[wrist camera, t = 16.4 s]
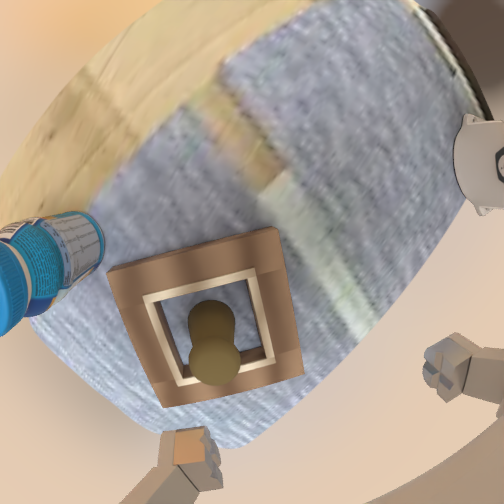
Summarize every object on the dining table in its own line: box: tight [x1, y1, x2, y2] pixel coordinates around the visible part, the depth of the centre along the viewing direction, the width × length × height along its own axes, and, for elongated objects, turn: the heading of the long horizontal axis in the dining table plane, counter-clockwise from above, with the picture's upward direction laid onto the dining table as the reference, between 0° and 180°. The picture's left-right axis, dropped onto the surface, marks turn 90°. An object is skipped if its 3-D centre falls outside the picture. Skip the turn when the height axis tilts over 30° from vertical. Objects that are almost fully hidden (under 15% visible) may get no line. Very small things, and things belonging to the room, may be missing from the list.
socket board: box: [106, 226, 305, 408], centre depth 35 cm, size 20×20×3 cm
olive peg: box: [188, 300, 241, 386], centre depth 31 cm, size 6×6×11 cm
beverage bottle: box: [0, 211, 104, 337], centre depth 22 cm, size 8×8×20 cm
